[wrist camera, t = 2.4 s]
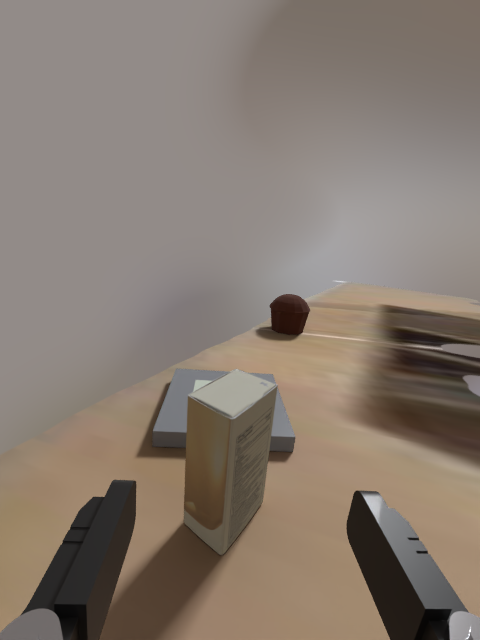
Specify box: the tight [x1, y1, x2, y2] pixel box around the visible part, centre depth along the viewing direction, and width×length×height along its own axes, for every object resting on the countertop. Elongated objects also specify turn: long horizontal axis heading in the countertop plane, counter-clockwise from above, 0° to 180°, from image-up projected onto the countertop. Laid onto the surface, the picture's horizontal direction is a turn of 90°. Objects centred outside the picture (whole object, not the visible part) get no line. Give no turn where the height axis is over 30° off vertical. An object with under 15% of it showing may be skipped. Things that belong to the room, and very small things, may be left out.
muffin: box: [270, 294, 310, 335], centre depth 81 cm, size 12×11×10 cm
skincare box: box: [184, 369, 278, 555], centre depth 23 cm, size 6×4×12 cm
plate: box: [152, 369, 295, 452], centre depth 40 cm, size 16×16×2 cm
